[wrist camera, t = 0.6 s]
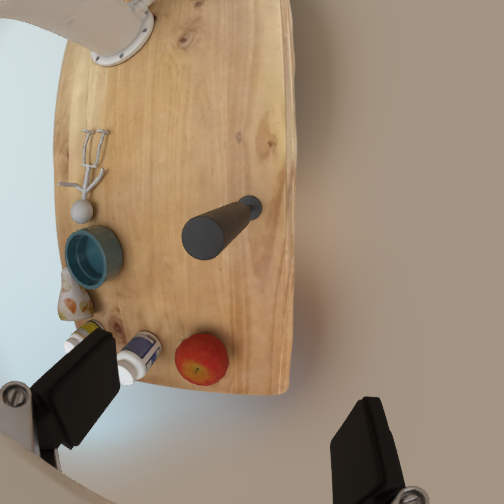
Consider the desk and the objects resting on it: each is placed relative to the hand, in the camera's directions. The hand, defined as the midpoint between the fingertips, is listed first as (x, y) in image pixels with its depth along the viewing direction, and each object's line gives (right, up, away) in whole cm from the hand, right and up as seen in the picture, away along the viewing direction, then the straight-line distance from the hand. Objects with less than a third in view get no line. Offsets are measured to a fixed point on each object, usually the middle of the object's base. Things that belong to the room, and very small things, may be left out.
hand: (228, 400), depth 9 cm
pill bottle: (-17, -11, +35) cm, 40 cm away
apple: (-6, -9, +33) cm, 35 cm away
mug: (-31, -1, +35) cm, 46 cm away
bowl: (-24, +5, +32) cm, 40 cm away
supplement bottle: (-29, -10, +37) cm, 48 cm away
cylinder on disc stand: (+1, +11, +27) cm, 29 cm away
